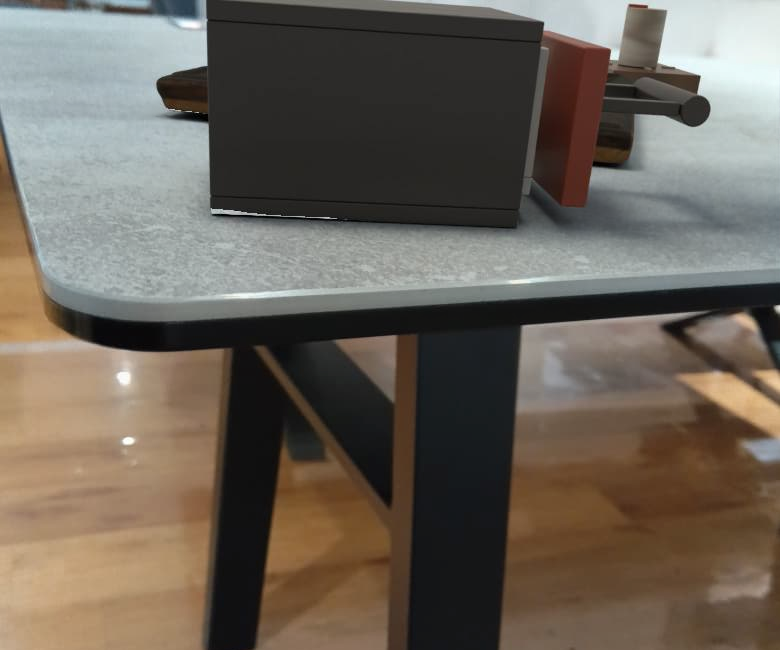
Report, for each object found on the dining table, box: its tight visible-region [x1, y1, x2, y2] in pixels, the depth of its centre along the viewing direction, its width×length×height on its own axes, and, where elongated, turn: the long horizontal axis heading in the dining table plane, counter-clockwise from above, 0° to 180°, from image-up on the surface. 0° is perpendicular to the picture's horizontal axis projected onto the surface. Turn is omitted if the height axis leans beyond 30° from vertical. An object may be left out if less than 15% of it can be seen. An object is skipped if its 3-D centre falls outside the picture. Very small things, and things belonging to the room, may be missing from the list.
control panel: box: [608, 59, 702, 94], centre depth 93 cm, size 9×12×3 cm
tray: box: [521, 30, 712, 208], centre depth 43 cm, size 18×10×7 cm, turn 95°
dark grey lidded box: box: [205, 0, 545, 229], centre depth 42 cm, size 14×12×9 cm
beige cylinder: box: [617, 3, 668, 68], centre depth 91 cm, size 4×4×6 cm
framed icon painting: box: [155, 65, 635, 164], centre depth 71 cm, size 38×35×3 cm
